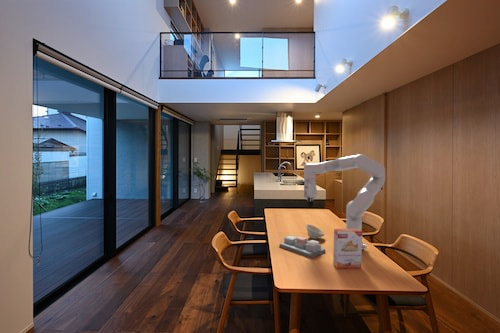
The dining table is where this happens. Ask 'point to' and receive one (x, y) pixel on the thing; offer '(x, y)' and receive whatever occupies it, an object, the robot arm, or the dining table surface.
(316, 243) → the cream button
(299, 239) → the terracotta button
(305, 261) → the dining table surface
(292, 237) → the green button
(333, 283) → the dining table surface
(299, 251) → the button board
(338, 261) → the cracker box
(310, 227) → the bowl
